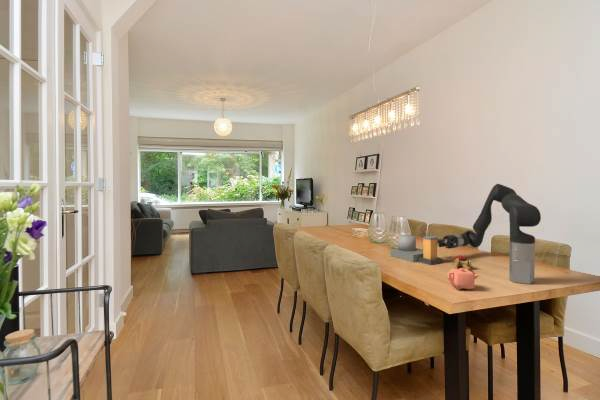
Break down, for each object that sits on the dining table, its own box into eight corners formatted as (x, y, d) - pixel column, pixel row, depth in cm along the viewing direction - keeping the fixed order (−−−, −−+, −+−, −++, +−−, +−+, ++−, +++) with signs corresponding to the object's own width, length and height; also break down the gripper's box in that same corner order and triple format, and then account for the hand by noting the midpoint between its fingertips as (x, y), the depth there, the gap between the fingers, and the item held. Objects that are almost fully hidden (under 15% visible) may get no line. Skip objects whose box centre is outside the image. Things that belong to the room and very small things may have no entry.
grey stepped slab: (410, 253, 208) (410, 234, 207) (447, 262, 183) (447, 240, 183) (390, 256, 201) (390, 236, 200) (425, 265, 176) (426, 243, 176)
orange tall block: (429, 260, 188) (429, 235, 187) (437, 262, 183) (437, 237, 182) (422, 261, 185) (422, 236, 185) (430, 263, 180) (430, 238, 180)
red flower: (479, 277, 159) (467, 263, 176) (477, 264, 158) (465, 252, 175) (462, 279, 160) (451, 265, 178) (460, 267, 159) (450, 254, 177)
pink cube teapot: (482, 291, 134) (482, 271, 134) (451, 290, 135) (451, 270, 135) (474, 285, 142) (474, 266, 142) (445, 285, 143) (445, 265, 143)
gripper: (443, 233, 198) (422, 235, 191) (464, 236, 185) (443, 238, 178) (442, 245, 198) (422, 248, 191) (464, 249, 185) (443, 252, 178)
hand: (432, 243), depth 184 cm, fingers open, 8 cm apart
